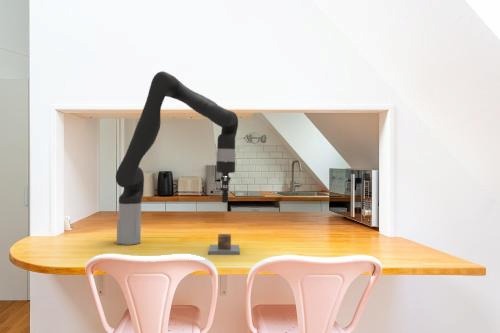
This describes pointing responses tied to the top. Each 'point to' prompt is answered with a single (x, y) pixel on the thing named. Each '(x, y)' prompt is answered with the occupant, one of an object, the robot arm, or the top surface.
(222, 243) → the walnut cube
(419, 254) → the top surface
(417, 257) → the top surface
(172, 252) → the top surface
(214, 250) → the plate
